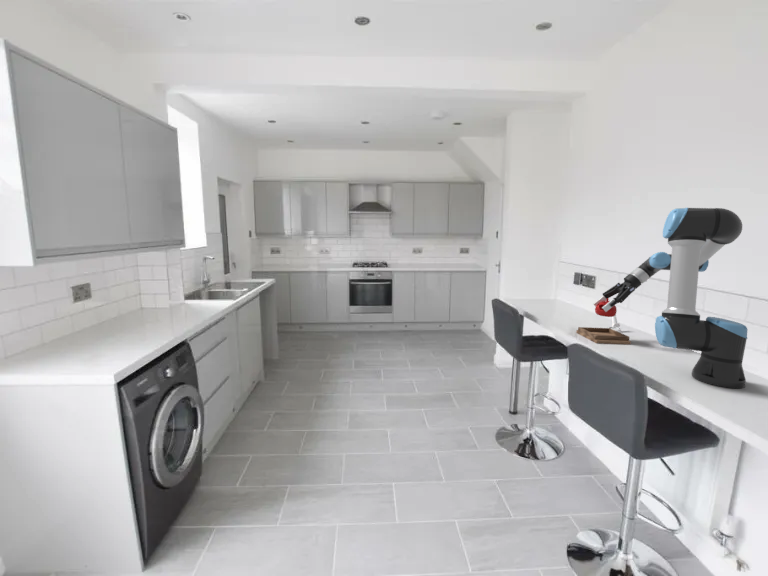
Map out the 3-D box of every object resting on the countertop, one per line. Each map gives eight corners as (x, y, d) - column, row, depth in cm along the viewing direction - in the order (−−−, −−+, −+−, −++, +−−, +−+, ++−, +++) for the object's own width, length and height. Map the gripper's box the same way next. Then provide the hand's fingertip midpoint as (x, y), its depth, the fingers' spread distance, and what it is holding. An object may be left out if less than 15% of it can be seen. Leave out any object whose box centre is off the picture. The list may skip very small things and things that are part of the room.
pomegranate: (608, 314, 200) (611, 297, 199) (620, 318, 190) (622, 300, 189) (590, 313, 200) (592, 296, 199) (600, 317, 190) (602, 299, 189)
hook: (610, 318, 222) (620, 314, 216) (615, 337, 217) (625, 333, 211) (600, 316, 221) (610, 311, 215) (604, 335, 215) (614, 331, 209)
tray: (630, 344, 187) (631, 337, 187) (596, 343, 187) (597, 336, 187) (607, 333, 207) (608, 327, 206) (576, 332, 207) (576, 326, 207)
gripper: (653, 287, 180) (614, 317, 184) (629, 281, 202) (594, 308, 206) (643, 275, 180) (604, 306, 184) (619, 271, 202) (585, 298, 206)
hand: (599, 307), depth 195 cm, fingers closed on pomegranate, 10 cm apart
